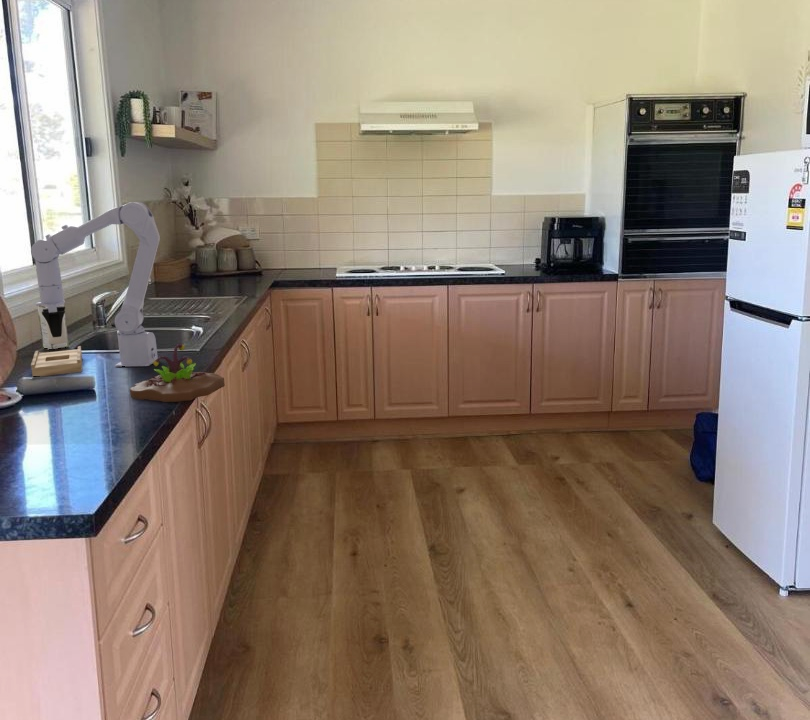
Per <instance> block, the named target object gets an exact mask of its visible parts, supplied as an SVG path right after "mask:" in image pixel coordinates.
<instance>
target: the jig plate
mask: <svg viewBox="0 0 810 720" xmlns="http://www.w3.org/2000/svg"><path fill="white" fill-rule="evenodd" d="M39 351H40V350H35V351H34V354H33V358H32V361H31V363H30V368H31V373H32V374H31V375H32V377H33V376H40V377H47V376H55V375H56V376H57V375H63V374H64V375H67V374H73V373H81V372H83V352H82V346H81V345H79V346H77V349H69V350H59V351H50V352H49V351H47V352H39Z"/></svg>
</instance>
